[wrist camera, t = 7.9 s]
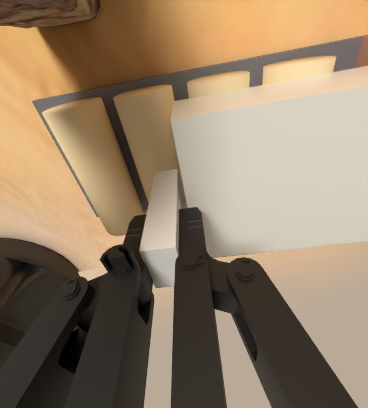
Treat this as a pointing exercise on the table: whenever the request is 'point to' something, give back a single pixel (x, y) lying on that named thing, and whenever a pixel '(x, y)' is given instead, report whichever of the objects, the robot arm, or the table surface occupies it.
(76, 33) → the table surface
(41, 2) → the stone block
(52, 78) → the table surface
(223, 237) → the slab
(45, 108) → the roller bed
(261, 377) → the robot arm
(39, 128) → the table surface
